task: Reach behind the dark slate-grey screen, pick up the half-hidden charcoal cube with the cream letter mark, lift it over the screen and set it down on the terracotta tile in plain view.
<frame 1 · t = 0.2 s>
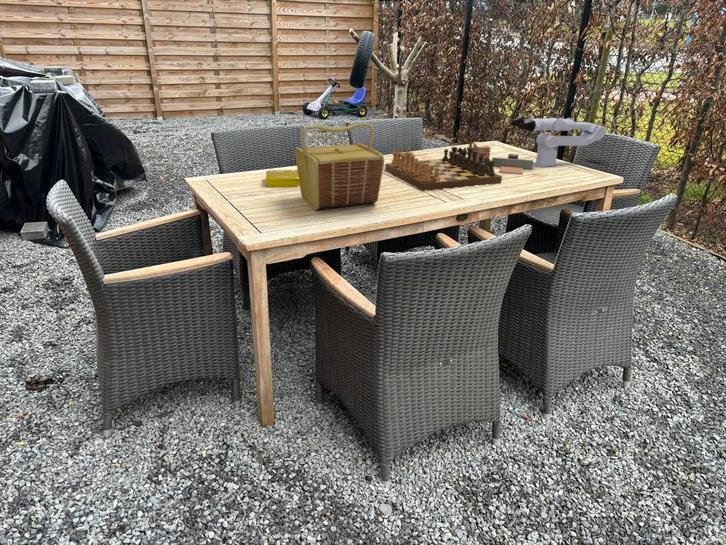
hand: (515, 124, 254), 21 cm above the table, tool horizontal, fingers open, 7 cm apart
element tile: (283, 183, 230), on the table
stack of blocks: (477, 167, 263), on the table
letter cube: (512, 164, 268), on the table
screen: (511, 167, 261), on the table
tile: (511, 171, 255), on the table
picnic basket: (338, 202, 205), on the table
chess set: (440, 177, 244), on the table
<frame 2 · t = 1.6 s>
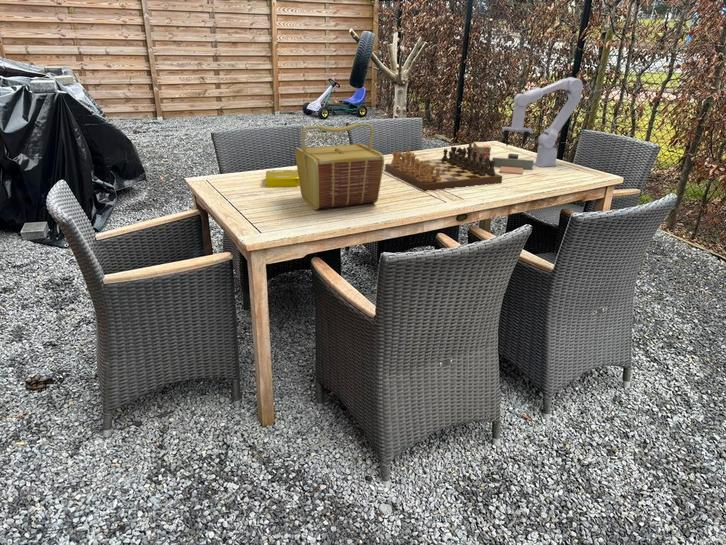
hand: (514, 146, 264), 9 cm above the table, tool pointing down, fingers open, 7 cm apart
nothing on the table moved.
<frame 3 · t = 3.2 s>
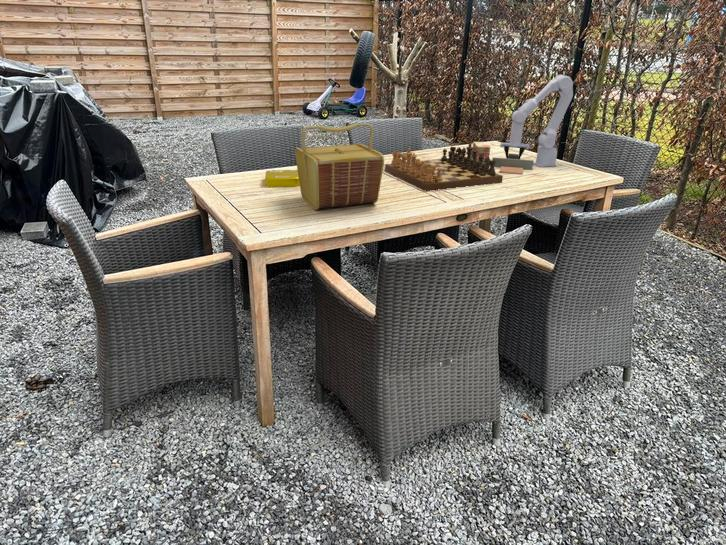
hand: (512, 161, 268), 1 cm above the table, tool pointing down, fingers closed on letter cube, 5 cm apart
letter cube: (512, 164, 268), on the table, touching gripper
everything else where it was.
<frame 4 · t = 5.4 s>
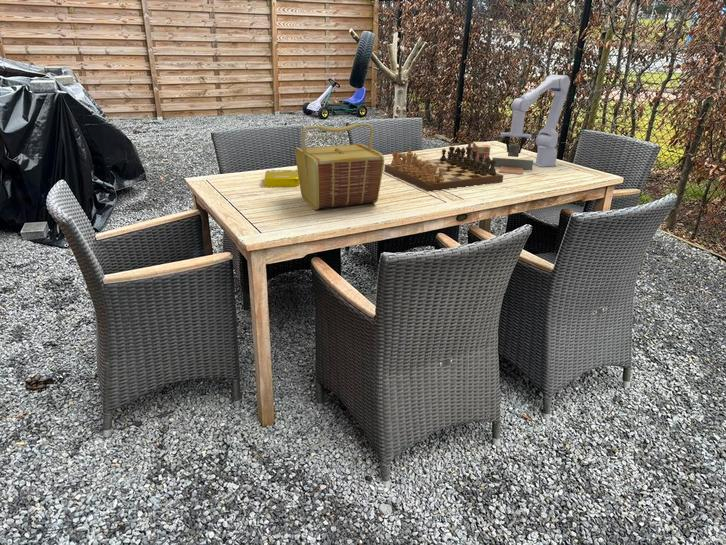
hand: (513, 152, 254), 9 cm above the table, tool pointing down, fingers closed on letter cube, 5 cm apart
letter cube: (513, 155, 255), point 7 cm above the table, touching gripper
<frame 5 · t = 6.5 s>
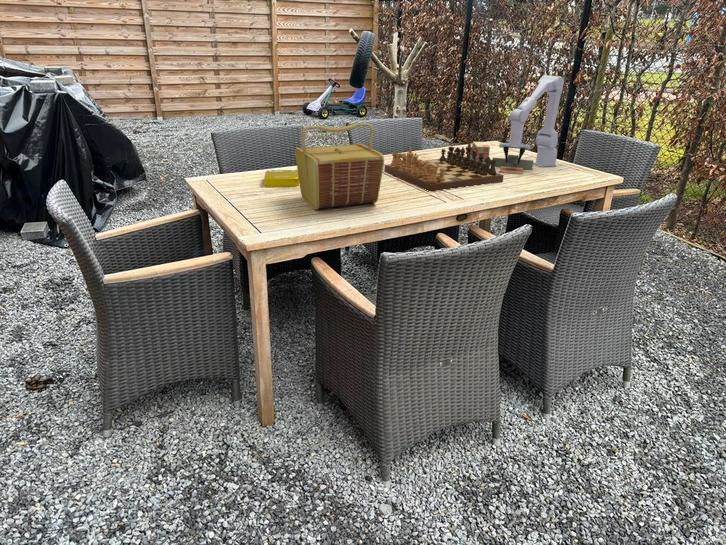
hand: (512, 163, 253), 4 cm above the table, tool pointing down, fingers closed on letter cube, 5 cm apart
letter cube: (511, 166, 254), point 2 cm above the table, touching gripper
when the fingers open (3 cm above the table, at t = 7.6 s): letter cube stays where it is, resting on tile.
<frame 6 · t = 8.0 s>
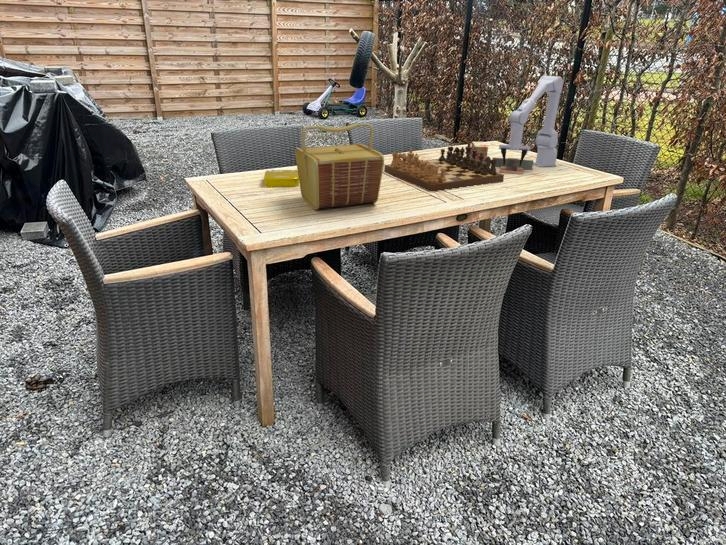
hand: (512, 164, 254), 3 cm above the table, tool pointing down, fingers open, 7 cm apart
letter cube: (511, 169, 255), point 1 cm above the table, touching tile
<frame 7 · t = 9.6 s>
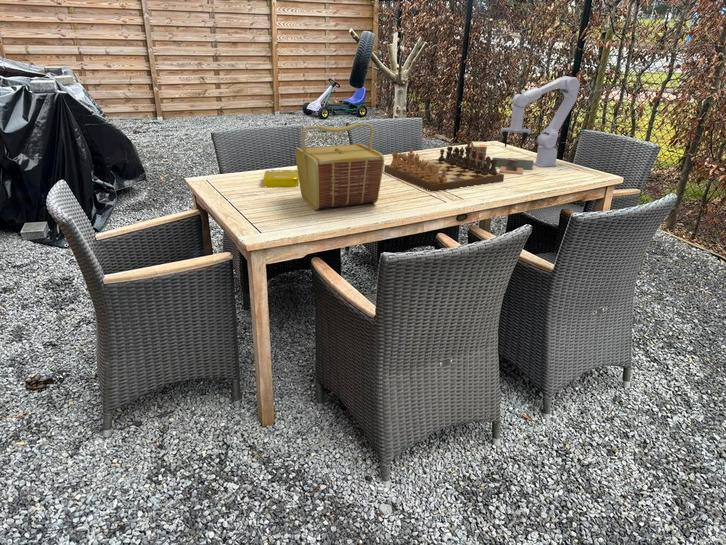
hand: (513, 147, 262), 9 cm above the table, tool pointing down, fingers open, 7 cm apart
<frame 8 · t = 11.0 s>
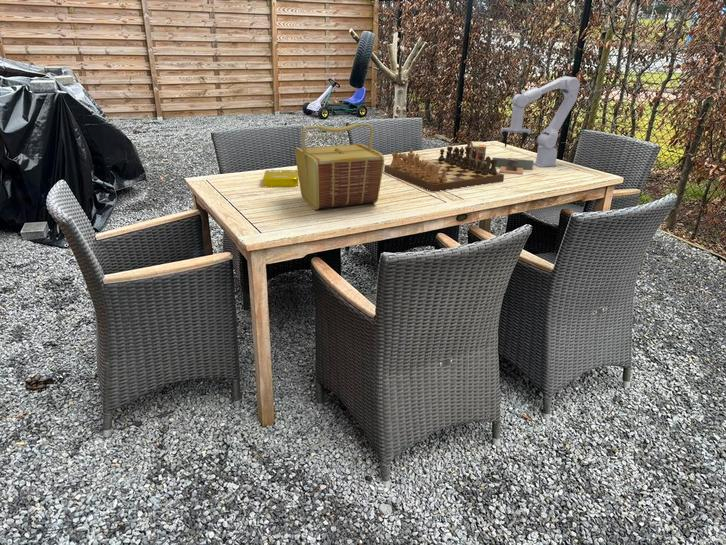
hand: (513, 147, 262), 9 cm above the table, tool pointing down, fingers open, 7 cm apart
at the end: letter cube 0.4 cm off-centre on the tile, point 0.8 cm above the tile's base; letter cube tilted 0°; the gripper is holding nothing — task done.
